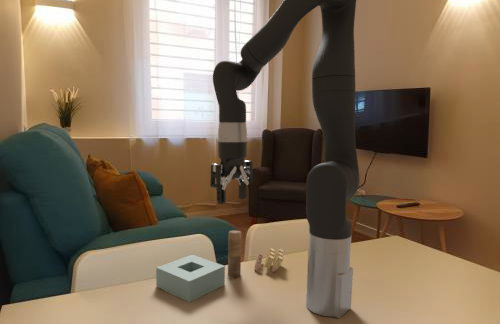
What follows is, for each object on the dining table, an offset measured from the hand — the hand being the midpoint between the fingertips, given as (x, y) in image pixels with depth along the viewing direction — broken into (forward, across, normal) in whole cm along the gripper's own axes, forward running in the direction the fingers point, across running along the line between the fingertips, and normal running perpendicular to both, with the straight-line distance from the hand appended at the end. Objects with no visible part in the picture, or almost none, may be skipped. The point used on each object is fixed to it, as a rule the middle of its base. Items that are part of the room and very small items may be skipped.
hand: (232, 201), depth 100 cm
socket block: (+20, -12, +3) cm, 24 cm away
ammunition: (+21, +11, -4) cm, 24 cm away
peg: (+20, 0, -1) cm, 20 cm away
